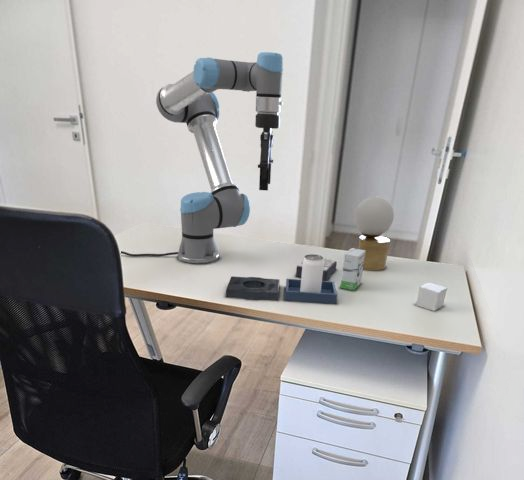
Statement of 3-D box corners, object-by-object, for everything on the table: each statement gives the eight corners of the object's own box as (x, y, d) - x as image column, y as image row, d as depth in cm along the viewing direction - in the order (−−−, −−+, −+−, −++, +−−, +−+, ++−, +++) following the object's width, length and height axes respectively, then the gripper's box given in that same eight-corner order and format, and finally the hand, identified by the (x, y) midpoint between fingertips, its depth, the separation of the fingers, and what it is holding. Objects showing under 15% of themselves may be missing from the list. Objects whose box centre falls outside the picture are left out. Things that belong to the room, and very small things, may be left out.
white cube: (442, 305, 136) (447, 287, 133) (434, 311, 132) (438, 292, 129) (424, 300, 140) (428, 282, 137) (415, 304, 136) (419, 286, 133)
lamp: (340, 260, 173) (349, 193, 161) (370, 257, 178) (381, 192, 166) (363, 272, 161) (374, 201, 149) (394, 268, 166) (407, 200, 154)
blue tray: (284, 300, 134) (285, 291, 133) (285, 287, 145) (286, 278, 143) (335, 303, 134) (337, 294, 132) (333, 290, 144) (334, 281, 142)
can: (324, 294, 139) (328, 257, 133) (312, 299, 135) (315, 261, 129) (308, 288, 143) (311, 252, 137) (295, 293, 139) (298, 256, 133)
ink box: (353, 291, 144) (359, 256, 138) (339, 288, 146) (344, 253, 140) (361, 283, 151) (366, 249, 145) (347, 280, 152) (351, 247, 147)
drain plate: (225, 297, 134) (225, 290, 133) (231, 282, 146) (231, 275, 145) (277, 301, 134) (278, 293, 133) (279, 285, 145) (279, 278, 144)
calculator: (337, 259, 161) (327, 269, 148) (335, 271, 163) (325, 281, 150) (308, 255, 164) (296, 264, 152) (307, 266, 166) (295, 276, 154)
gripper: (278, 114, 123) (274, 193, 133) (281, 113, 145) (277, 181, 155) (252, 113, 123) (250, 192, 133) (258, 112, 145) (256, 180, 155)
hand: (264, 186), depth 144 cm, fingers open, 13 cm apart
